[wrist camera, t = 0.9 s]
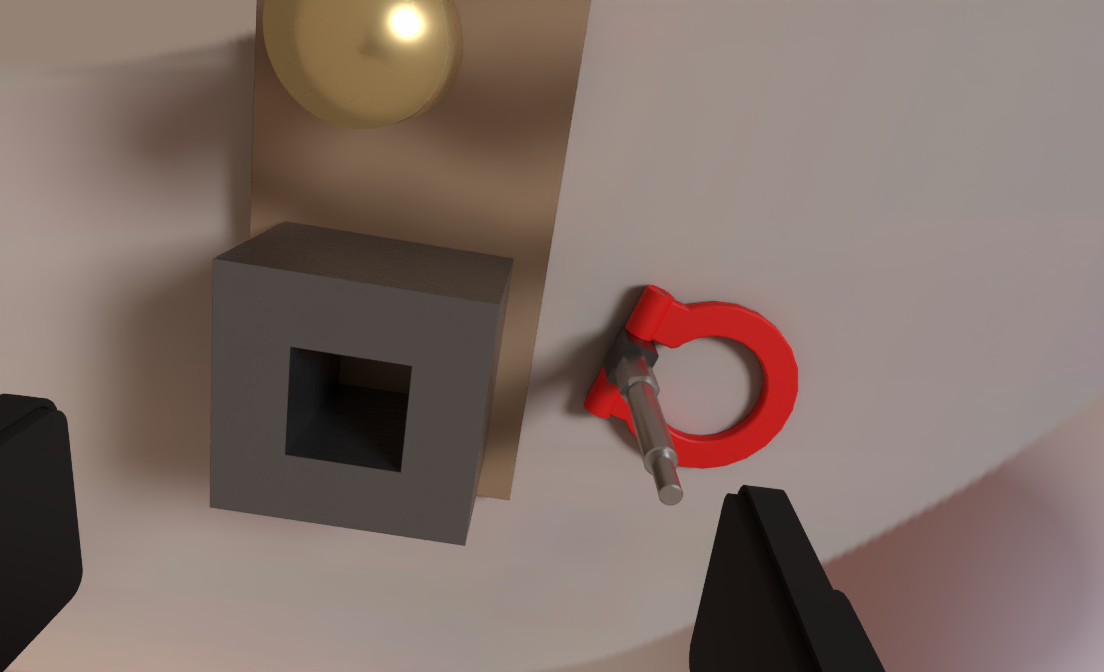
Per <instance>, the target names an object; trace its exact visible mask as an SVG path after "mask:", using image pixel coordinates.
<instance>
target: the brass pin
mask: <svg viewBox="0 0 1104 672" xmlns="http://www.w3.org/2000/svg"><path fill="white" fill-rule="evenodd" d="M263 33H264V40H265V45H266V49H267V53H268V56H269V59H270V61H271V64H272V66H273V69H274V71H275V73H276V74H277V76H278V78H279V80H280V81H281V83H282V84H283V86H284V87H285V89H286V90H287V91H288V92H289V94H290V95H291V96H292V97H293V98H294V99H295V100H296V101H297V102H298V103H299V104H300V105H301V106H303V107H304V108H305V109H306V110H308V111H309V112H311V113H312V114H313V115H315V116H317V117H319V118H320V119H322V120H324V121H326V122H329V123H332V124H334V125H337V126H341V127H345V128H351V129H374V128H380V127H384V126H388V125H391V124H395V123H398V122H401V121H405V120H408V119H411V118H414V117H417V116H419V115H421V114H423V113H425V112H427V111H428V110H430V109H431V108H433V107H434V106H435V105H436V104H437V103H439V102H440V101H441V100H442V99H443V97H444V96H445V95H446V94H447V93H448V91H449V90H450V88H451V87H452V85H453V83H454V81H455V79H456V77H457V75H458V72H459V69H460V66H461V62H462V56H463V47H464V37H463V28H462V22H461V18H460V15H459V12H458V8H457V6H456V4H455V2H454V0H265V3H264V11H263Z"/></svg>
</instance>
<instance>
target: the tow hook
mask: <svg viewBox="0 0 1104 672" xmlns="http://www.w3.org/2000/svg"><path fill="white" fill-rule="evenodd" d="M710 336H718V337H726V338H730V339H733V340H735V341H738V342H740V343H743V344H744V345H745V346H747V347H748V348H749V349H750V350H752V351H753V352H754V353H755V354H756V356H757V357H758V359H759V362H760V365H761V368H762V371H763V387H762V391H761V395H760V398H759V400H758V402H757V404H756V406H755V407H754V409H753V411H752V412H751V413H750V414H749V415H748V416H747V417H746V418H745V419H744V420H743V421H742V422H740V423H739V424H737V425H736V426H734V427H733V428H731V429H729V430H726V431H723V432H721V433H718V434H712V435H704V436H700V435H691V434H686V433H684V432H681V431H678V430H676V429H674V428H672V427H671V426H670V425H668V424H667V423H666V422H665V419H664V416H663V413H662V410H661V407H660V404H659V401H658V399H657V396H658V394H659V391H660V389H659V386H658V383H657V380H656V378H655V375H654V373H653V369H652V368H653V366H654V364H655V362H656V361H657V359H658V356H659V355H658V353H657V350H656V348H655V345H654V343H653V340H654V341H656V342H658V343H660V344H663V345H665V346H667V347H669V348H677V347H679V346H681V345H682V344H684V343H686V342H689V341H691V340H694V339H697V338H702V337H710ZM603 364H604V366H603V368H602V370H601V372H600V374H599V375H598V377H597V379H596V381H595V383H594V385H593V387H592V388H591V390H590V392H589V394H588V396H587V398H586V400H585V401H584V407H585V408H586V409H587V410H588V411H589V412H591V413H592V414H594V415H596V416H598V417H601V418H609V416H610V415H612V416H615V417H617V418H620V419H622V420H624V421H626V423H627V425H628V428H629V430H630V432H631V433H632V434H633V435H634V436H635V438H636V439H637V440H638V443H639V447H640V451H641V455H642V459H643V463H644V467H645V469H646V470H647V471H648V472H649V473H650V474H652V475H653V477H654V481H655V484H656V488H657V492H658V495H659V499H660V501H661V502H662V503H664V504H666V505H675V504H677V503H679V502H680V501H681V499H682V497H683V491H682V488H681V485H680V482H679V479H678V476H677V473H676V470H675V469H676V467H677V465H678V466H683V467H692V468H701V469H703V468H712V467H720V466H726V465H729V464H732V463H734V462H737V461H740V460H743V459H746V458H747V457H749V456H751V455H752V454H754V453H755V452H757V451H758V450H760V449H762V448H763V447H765V446H766V445H767V444H768V443H769V442H770V441H771V440H772V439H773V438H774V437H775V436H776V435H777V434H778V433H779V432H780V431H781V429H782V428H783V426H784V424H785V423H786V421H787V419H788V417H789V416H790V414H791V412H792V410H793V407H794V403H795V400H796V396H797V392H798V368H797V364H796V361H795V358H794V355H793V352H792V349H791V347H790V346H789V344H788V343H787V341H786V340H785V338H784V337H783V336H782V334H781V333H780V331H779V330H778V329H777V328H776V327H775V326H774V325H773V324H772V323H771V322H769V321H768V320H767V319H765V318H764V317H763V316H762V315H760V314H759V313H758V312H755V311H753V310H750V309H748V308H746V307H743V306H741V305H738V304H734V303H726V302H718V301H709V302H701V303H693V304H688V305H685V304H683V303H681V302H679V301H676V300H674V297H673V296H672V295H671V294H669V293H668V292H667V291H665V290H663V289H661V288H659V287H657V286H654V285H650V284H648V285H647V286H646V288H645V290H644V292H643V294H642V296H641V297H640V299H639V301H638V303H637V305H636V307H635V309H634V310H633V312H632V314H631V316H630V318H629V320H628V322H627V323H626V325H625V326H623V327H622V328H621V330H620V332H619V334H618V336H617V338H616V339H615V341H614V343H613V345H612V347H611V349H610V351H609V352H608V354H607V356H606V358H605V360H604V363H603Z"/></svg>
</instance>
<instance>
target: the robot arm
mask: <svg viewBox="0 0 1104 672" xmlns="http://www.w3.org/2000/svg"><path fill="white" fill-rule="evenodd" d="M82 574H83V568H82V558H81V548H80V539H79V529H78V519H77V510H76V500H75V491H74V481H73V471H72V462H71V452H70V442H69V433H68V423H67V419H66V416H65V415H64V413H63V412H61V411H59V410H57V408H56V406H55V405H54V403H53V402H52V401H51V400H49V399H46V398H37V397H29V396H21V395H13V394H1V395H0V672H3V671H4V670H5V669H6V668H7V667H8V666H9V665H10V664H11V663H12V662H13V661H14V660H15V659H16V658H17V656H18V655H19V654H20V653H21V652H22V651H23V650H24V649H25V648H26V647H27V646H28V645H29V644H30V643H31V642H32V641H33V639H34V638H35V637H36V636H37V635H38V634H39V633H40V632H41V631H42V630H43V629H44V628H45V627H46V626H47V625H48V623H49V622H50V621H51V620H52V619H53V618H54V617H55V616H56V615H57V614H58V613H59V612H60V611H61V610H62V609H63V608H64V606H65V605H66V604H67V603H68V602H69V601H70V600H71V599H72V598H73V596H74V595H75V594H76V592H77V590H78V588H79V586H80V583H81V579H82ZM689 668H690V672H885V670H884V668H883V666H882V664H881V662H880V660H879V658H878V656H877V654H876V652H875V650H874V648H873V647H872V644H871V642H870V640H869V639H868V637H867V635H866V633H865V631H864V629H863V627H862V625H861V623H860V621H859V619H858V617H857V615H856V613H855V611H854V609H853V607H852V606H851V603H850V601H849V600H848V599H847V597H846V596H845V594H844V593H842V592H840V591H839V590H833V588H832V586H831V584H830V582H829V580H828V578H827V576H826V574H825V572H824V570H823V568H822V566H821V564H820V562H819V560H818V558H817V556H816V553H815V551H814V549H813V547H812V545H811V543H810V541H809V539H808V537H807V535H806V533H805V531H804V529H803V527H802V525H801V523H800V521H799V519H798V517H797V515H796V513H795V511H794V509H793V507H792V505H791V503H790V501H789V498H788V496H787V494H786V493H785V492H784V490H780V489H772V488H764V487H756V486H748V485H743V486H742V487H741V488H740V490H739V492H738V494H730V493H728V494H727V495H726V497H725V499H724V502H723V506H722V510H721V515H720V519H719V523H718V527H717V532H716V536H715V540H714V545H713V549H712V553H711V558H710V562H709V566H708V571H707V575H706V579H705V583H704V588H703V592H702V596H701V601H700V605H699V609H698V614H697V618H696V622H695V627H694V631H693V635H692V640H691V644H690V652H689Z"/></svg>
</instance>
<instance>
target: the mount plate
mask: <svg viewBox="0 0 1104 672" xmlns="http://www.w3.org/2000/svg"><path fill="white" fill-rule="evenodd" d="M454 2H455V4H456V6H457V8H458V12H459V15H460V18H461V22H462V28H463V37H464V47H463V56H462V62H461V66H460V69H459V72H458V75H457V77H456V79H455V81H454V83H453V85H452V87H451V88H450V90H449V91H448V93H447V94H446V95H445V96H444V97H443V99H442V100H441V101H440V102H439V103H437V104H436V105H435V106H434V107H433V108H431V109H430V110H428V111H427V112H425V113H423V114H421V115H419V116H417V117H414V118H411V119H408V120H405V121H401V122H398V123H395V124H391V125H388V126H384V127H380V128H374V129H351V128H345V127H341V126H337V125H334V124H332V123H329V122H326V121H324V120H322V119H320V118H319V117H317V116H315V115H313V114H312V113H311V112H309V111H308V110H306V109H305V108H304V107H303V106H301V105H300V104H299V103H298V102H297V101H296V100H295V99H294V98H293V97H292V96H291V95H290V94H289V92H288V91H287V90H286V89H285V87H284V86H283V84H282V83H281V81H280V80H279V78H278V76H277V74H276V73H275V71H274V69H273V66H272V64H271V61H270V59H269V56H268V53H267V49H266V45H265V40H264V33H263V11H264V3H265V0H257V12H256V14H257V15H256V46H255V80H254V113H253V147H252V181H251V215H250V239H252V238H254V237H256V236H258V235H260V234H261V233H263V232H265V231H267V230H269V229H271V228H273V227H275V226H277V225H279V224H281V223H283V222H284V221H287V222H294V223H300V224H306V225H312V226H318V227H324V228H330V229H337V230H343V231H349V232H355V233H361V234H367V235H373V236H380V237H386V238H392V239H398V240H404V241H410V242H416V243H423V244H429V245H435V246H441V247H447V248H453V249H459V250H466V251H472V252H478V253H484V254H490V255H496V256H502V257H508V258H514V262H513V268H512V275H511V282H510V289H509V295H508V302H507V309H506V316H505V322H504V329H503V336H502V343H501V350H500V356H499V363H498V370H497V377H496V383H495V390H494V397H493V404H492V410H491V417H490V424H489V431H488V437H487V444H486V451H485V458H484V463H483V467H482V472H481V476H480V481H479V485H478V490H477V494H476V495H477V496H484V497H490V498H497V499H503V500H509V499H510V493H511V487H512V481H513V475H514V468H515V462H516V456H517V450H518V444H519V438H520V432H521V426H522V420H523V413H524V407H525V401H526V395H527V389H528V383H529V377H530V371H531V364H532V358H533V352H534V346H535V340H536V334H537V328H538V322H539V316H540V309H541V303H542V297H543V291H544V285H545V279H546V273H547V267H548V260H549V254H550V248H551V242H552V236H553V230H554V224H555V218H556V211H557V205H558V199H559V193H560V187H561V181H562V175H563V169H564V163H565V156H566V150H567V144H568V138H569V132H570V126H571V120H572V114H573V107H574V101H575V95H576V89H577V83H578V77H579V71H580V65H581V59H582V52H583V46H584V40H585V34H586V28H587V22H588V16H589V10H590V3H591V0H454ZM411 373H412V366H409V365H403V364H397V363H390V362H384V361H378V360H371V359H365V358H359V357H352V356H346V355H341V356H340V370H339V383H341V384H348V385H354V386H360V387H367V388H373V389H380V390H386V391H392V392H399V393H405V394H409V392H410V382H411Z"/></svg>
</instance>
